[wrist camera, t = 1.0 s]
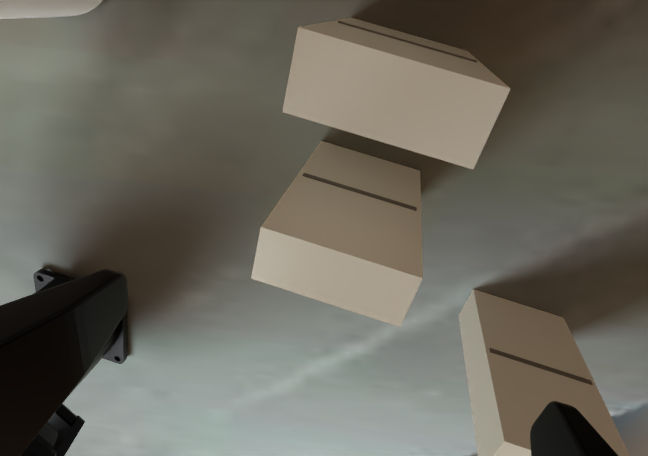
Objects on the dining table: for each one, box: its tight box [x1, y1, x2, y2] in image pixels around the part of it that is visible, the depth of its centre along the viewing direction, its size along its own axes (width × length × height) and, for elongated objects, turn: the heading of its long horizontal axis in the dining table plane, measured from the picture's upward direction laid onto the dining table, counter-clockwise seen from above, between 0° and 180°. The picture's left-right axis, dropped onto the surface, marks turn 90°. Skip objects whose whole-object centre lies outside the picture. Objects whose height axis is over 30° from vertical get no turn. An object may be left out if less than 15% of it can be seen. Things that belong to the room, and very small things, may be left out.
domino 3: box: [459, 289, 629, 456], centre depth 19 cm, size 2×5×9 cm, turn 76°
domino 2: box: [251, 141, 423, 327], centre depth 16 cm, size 2×5×9 cm, turn 76°
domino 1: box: [282, 18, 511, 169], centre depth 14 cm, size 2×5×9 cm, turn 76°
